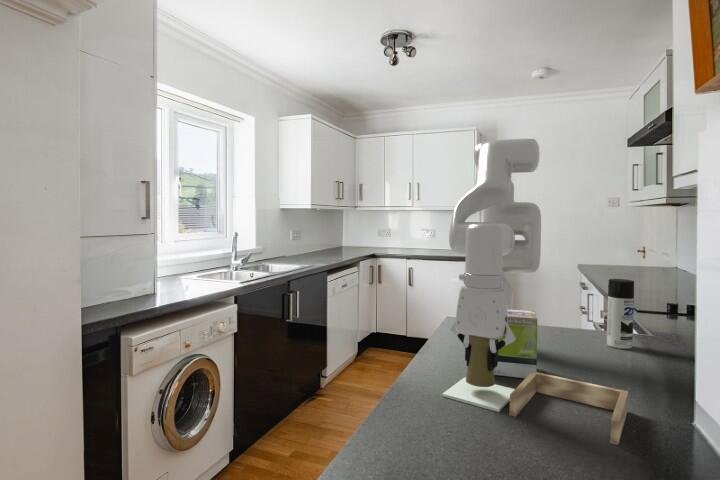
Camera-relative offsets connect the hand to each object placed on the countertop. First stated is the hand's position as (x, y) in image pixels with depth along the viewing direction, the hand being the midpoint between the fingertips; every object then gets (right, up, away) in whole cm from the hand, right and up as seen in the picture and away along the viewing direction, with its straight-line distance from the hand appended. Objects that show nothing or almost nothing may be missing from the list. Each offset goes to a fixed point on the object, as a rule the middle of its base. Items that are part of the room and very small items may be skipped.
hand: (481, 366), depth 91 cm
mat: (0, -6, 0) cm, 6 cm away
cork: (0, -3, 0) cm, 3 cm away
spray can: (+52, -5, +37) cm, 64 cm away
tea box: (+10, -6, +15) cm, 19 cm away
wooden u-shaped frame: (+15, -7, -8) cm, 18 cm away
